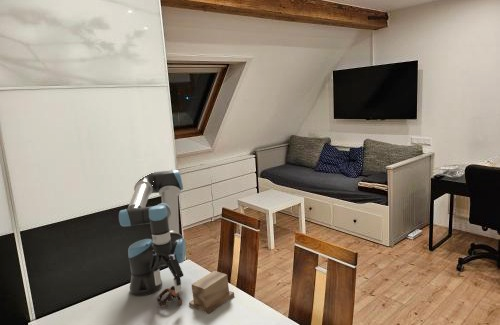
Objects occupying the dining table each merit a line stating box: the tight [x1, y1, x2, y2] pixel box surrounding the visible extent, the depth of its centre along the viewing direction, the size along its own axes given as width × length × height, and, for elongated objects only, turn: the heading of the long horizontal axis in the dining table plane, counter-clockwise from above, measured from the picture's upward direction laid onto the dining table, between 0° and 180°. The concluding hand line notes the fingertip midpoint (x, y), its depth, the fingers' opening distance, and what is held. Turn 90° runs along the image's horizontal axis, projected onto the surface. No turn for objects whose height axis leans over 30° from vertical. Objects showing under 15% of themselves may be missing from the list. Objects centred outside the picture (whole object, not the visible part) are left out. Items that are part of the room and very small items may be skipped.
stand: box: [188, 270, 235, 315], centre depth 152 cm, size 12×16×10 cm
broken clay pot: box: [156, 285, 183, 308], centre depth 153 cm, size 12×10×8 cm
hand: (168, 288), depth 152 cm, fingers open, 13 cm apart
